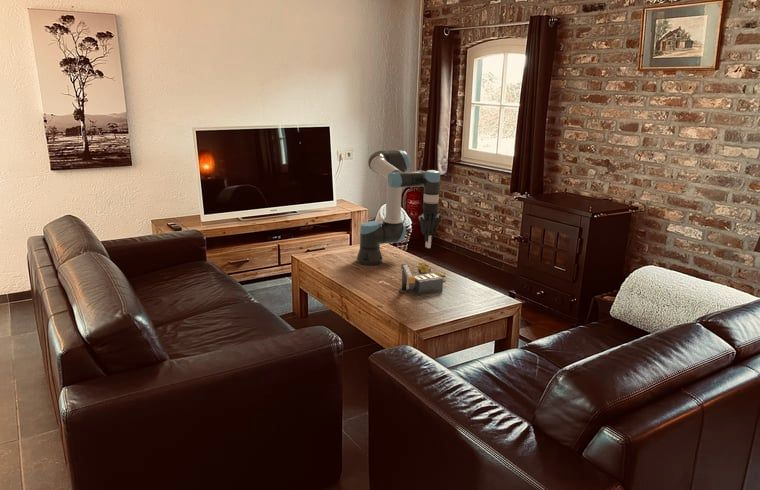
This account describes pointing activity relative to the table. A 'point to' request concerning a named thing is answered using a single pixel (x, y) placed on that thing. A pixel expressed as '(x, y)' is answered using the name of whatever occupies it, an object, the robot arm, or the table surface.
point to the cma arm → (408, 273)
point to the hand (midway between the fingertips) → (428, 247)
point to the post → (404, 283)
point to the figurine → (424, 270)
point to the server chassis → (426, 284)
